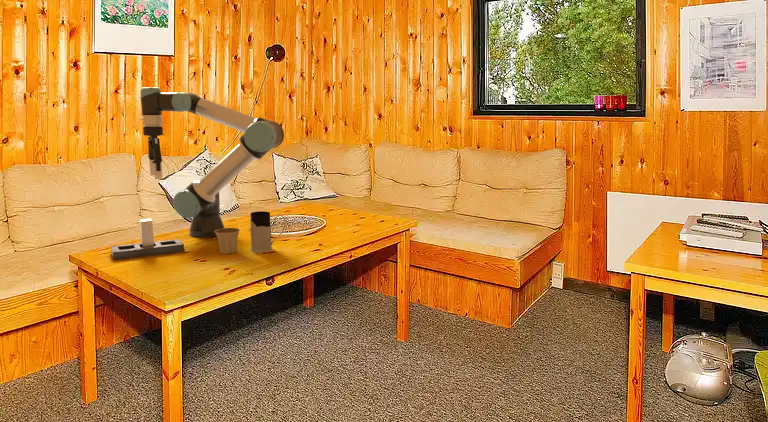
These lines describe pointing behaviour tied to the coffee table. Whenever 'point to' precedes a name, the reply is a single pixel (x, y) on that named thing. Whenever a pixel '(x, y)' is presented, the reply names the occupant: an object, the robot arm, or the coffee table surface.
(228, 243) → the flower pot
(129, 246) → the dark grey ladder frame
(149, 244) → the beige tall block
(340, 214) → the coffee table surface
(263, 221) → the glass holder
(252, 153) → the robot arm
